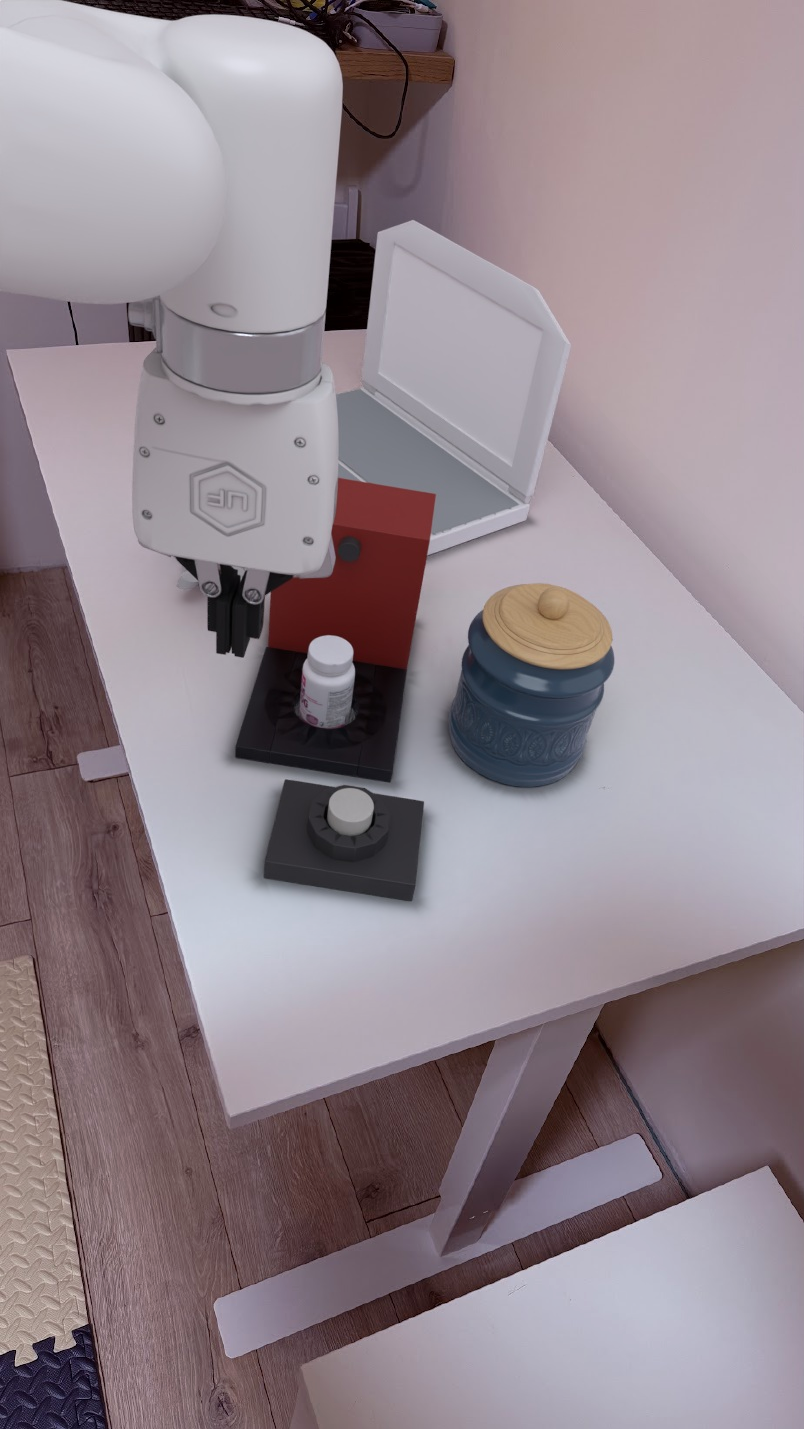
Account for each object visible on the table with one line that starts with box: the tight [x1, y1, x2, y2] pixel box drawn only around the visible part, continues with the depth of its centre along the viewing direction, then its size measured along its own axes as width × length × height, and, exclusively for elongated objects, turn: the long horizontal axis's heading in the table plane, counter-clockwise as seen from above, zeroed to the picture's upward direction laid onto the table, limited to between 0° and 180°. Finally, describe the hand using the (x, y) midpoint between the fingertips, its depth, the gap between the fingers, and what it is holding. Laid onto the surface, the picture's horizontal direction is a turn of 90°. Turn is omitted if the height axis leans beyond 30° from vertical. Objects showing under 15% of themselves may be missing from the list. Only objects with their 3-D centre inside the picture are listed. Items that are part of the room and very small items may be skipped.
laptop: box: [336, 219, 572, 556], centre depth 118 cm, size 33×24×26 cm
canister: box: [448, 582, 615, 788], centre depth 90 cm, size 13×13×18 cm
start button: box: [327, 788, 374, 836], centre depth 81 cm, size 4×4×2 cm
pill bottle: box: [298, 635, 355, 729], centre depth 92 cm, size 5×5×8 cm
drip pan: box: [234, 646, 408, 783], centre depth 95 cm, size 14×14×2 cm
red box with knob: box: [267, 478, 436, 670], centre depth 98 cm, size 14×9×16 cm, turn 84°
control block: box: [263, 778, 425, 902], centre depth 83 cm, size 12×9×4 cm
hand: (235, 640), depth 60 cm, fingers closed
